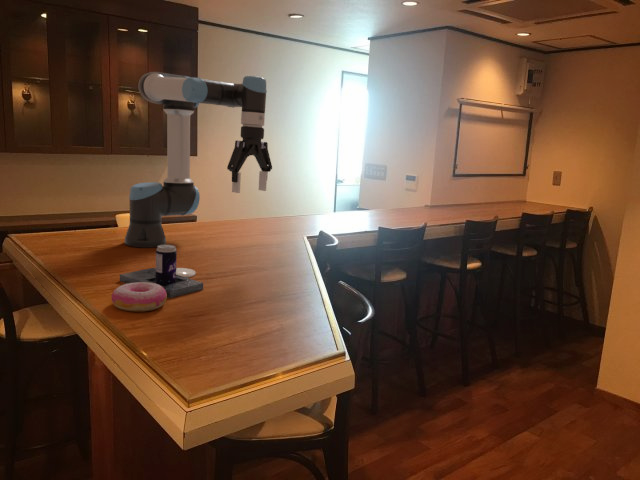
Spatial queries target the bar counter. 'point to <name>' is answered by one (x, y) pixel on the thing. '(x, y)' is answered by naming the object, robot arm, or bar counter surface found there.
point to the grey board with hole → (172, 290)
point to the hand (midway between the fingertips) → (249, 191)
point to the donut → (139, 296)
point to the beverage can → (166, 264)
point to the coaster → (185, 272)
